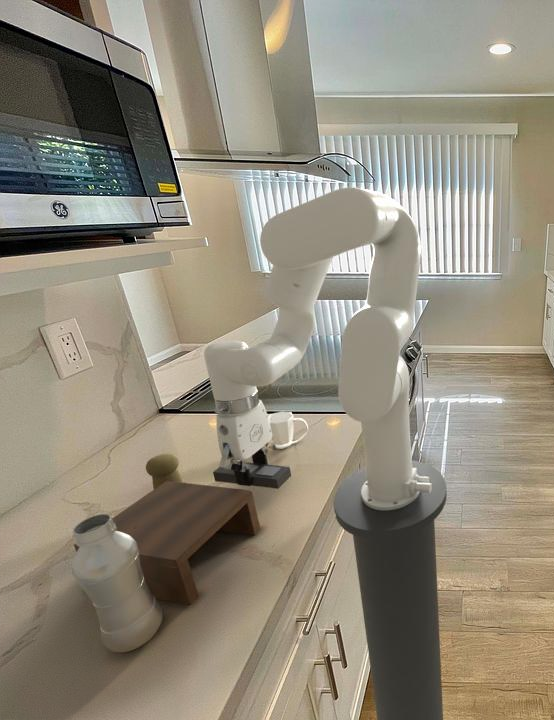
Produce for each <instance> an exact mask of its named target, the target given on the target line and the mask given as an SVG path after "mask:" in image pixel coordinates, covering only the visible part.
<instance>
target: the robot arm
mask: <svg viewBox="0 0 554 720" xmlns="http://www.w3.org/2000/svg"><path fill="white" fill-rule="evenodd" d="M259 243H260V248H261V251H262V254H263V256H264V257H265V259H266V260H267V261H268V262H269V263H270V264H271V265H272V268H271V271H270V274H269V277H268V278H267V279H268V280H267V282H266V285H265V288H264V295H265V297H266V299H267V300H268V301H269V302H270V303H271V304H272V305H275V306H276V307H277V308H278V310H279V311H278V316H277V321H276V324H275V325H274V329H273V332H272V334H271V336H270V337H269V338H267V339H265V340H263V341H261V342H260V343H258V344H255V345H253V346H248V345H247V343H245V342H243V341H241V340H224V341H217V342H215V343H211V344H209V345H208V346H207V347H206V348H205V349H204V352H203V356H204V361H205V365H206V369H207V374H208V378H209V382H210V386H211V387H210V388H211V391H212V396H213V399H214V403H215V408H214V409H213V410H214V413H215V414H216V415H215V417H216V420H215V422H216V435H217V442H218V447H219V451H220V454H221V457H220V462H219V465H218V468H220V469H228V470H231V471H234V473H235V477H236V482H237V484H236V485H238V486H243V487H251V485H252V480H251V474H250V470H249V469H247V462H248V461H247V460H248V459H249V458H251V459H252V463H259V464H268V465H269V463H268V458H267V454H268V451H269V449H268V446H269V442H271V440H272V430H271V426H270V422H269V418H268V416H269V414H268V412H267V409H266V407H265V404H264V403H263V401H262V400H261V399H260V397H259V393H258V388H262V387H263V388H264V387H266V386H269V385H271V384H273V383H274V382H275V381H278V379H280V378H281V377H283V376H284V375H285V374H286V373H288V372H289V371H291V370H292V369H294V368H295V367H296V366H298V364H299V363H300V362H301V361H302V359H303V357H304V355H305V353H306V350H307V348H308V346H309V343H310V341H311V339H312V336H313V332H314V328H315V305H316V302H317V299H318V297H319V294H320V292H321V289H322V287H323V284H324V281H325V279H326V277H327V274H328V273H329V272H328V271H329V269H330V266H331V264H332V261H333V259H334V257H337V256H339V255H342V254H344V253H347V252H350V251H352V250H355V249H358V248H362V247H365V246H370V245H371V246H372V248H373V256H372V261H371V264H370V268H369V273H368V285H367V286H368V287H367V294H366V298H365V299H366V300H365V303H364V306H363V307H362V308H360V309H359V310H357V311H356V312H354V313H353V314H352V316H351V317H350V318H349V320H348V321H347V323H346V325H345V328H344V331H343V334H342V339H341V348H340V349H341V350H340V361H339V371H338V382H337V383H338V384H337V391H338V392H337V394H338V400H339V401H338V402H339V404H340V406H341V408H342V410H343V411H344V413H345V414H346V415H347V416H348V417H349V418H351V419H352V420H354V421H357V422H359V423H360V425H361V426H360V427H361V436H362V445H363V446H362V447H363V455H364V456H363V457H364V464H365V467H366V474H367V481H366V482H365V483H364V485H363V486H362V489H361V497H362V500H363V502H364V503H365V504H366V505H367V506H368V507H370V508H373V509H376V510H384V511H387V510H395V509H399V508H402V507H404V506H406V505H408V504H410V503H411V502H413V501H414V500H415V499H416V498H417V496H418V495H419V493H420V492H425V493H431V490H432V484H431V483H429V477H420V476H419V475H417V468H412V460H413V459H412V458H413V457H412V456H413V455H412V443H411V427H410V426H411V424H410V423H411V421H410V371H409V368H408V365H407V363H406V361H405V359H404V358H403V357H402V356H401V351H402V349H403V347H404V346H405V345H406V344H407V342H408V340H410V337H411V335H412V333H413V326H414V315H415V307H416V302H417V301H416V300H417V293H418V282H419V275H420V269H421V268H420V267H421V258H422V257H421V256H422V247H421V238H420V234H419V231H418V228H417V226H416V224H415V221H414V219H413V218H412V217H411V215H410V213H409V212H407V210H406V209H405V208H404V207H403V205H401V204H400V203H398V202H397V201H396V200H394V199H393V198H391V197H390V196H388V195H386V194H384V193H382V192H378V191H374V190H370V189H364V188H360V187H353V186H352V187H342V188H338V189H335V190H332V191H329V192H328V193H324V194H322V195H320V196H317V197H314V198H313V199H311V200H309V201H305V202H303V203H301V204H299V205H296V206H294V207H292V208H291V207H290V208H289V209H287V210H284V211H281V212H280V213H277V214H276V215H273V216H272V217H271V218H270V219H267V221H266V223H265V224H264V225H263V227H262V229H261V233H260V236H259ZM237 461H240V465H239V464H237Z"/></svg>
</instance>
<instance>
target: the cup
mask: <svg viewBox="0 0 554 720" xmlns="http://www.w3.org/2000/svg"><path fill="white" fill-rule="evenodd" d="M268 418H269V422H270V426H271V430H272V438H271V440H272V442H273V443H274V447H275V449H280V450H283V449H286V448H289V447H291V446H292V445H295V444H298V443H299V442H300V441H302V440H303V439H304V438H305V437H306V436H307V434H308V433H309V425H308V423H307V421H306V420H304V419H303V418H301V417H294V414H293V413H292V411H283V410H281V411H278V412H274V413H270V414H268ZM298 421H300V422H302V423H303V424H304V426H305V428H306V432H304V434H303V435H302V436H301V437H300V438H298V439H296V440H294V441H293V439H294V423H295V422H298Z"/></svg>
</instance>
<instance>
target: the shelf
mask: <svg viewBox="0 0 554 720" xmlns="http://www.w3.org/2000/svg"><path fill="white" fill-rule="evenodd" d="M257 512H258V511H257V507H256V504H255V499H254V494H253V491H252V490H251V489H242V488H241V489H240V488H234V487H224V486H218V485H217V486H216V485H207V484H200V483H199V484H198V483H190V482H185V483H182V482H173V481H166V482H164V483H163V484H161V485H160V486H158V487H157V488H156V489H154V488H153V490H151V491H150V492H148V493H147V494H145V495H144V496H142V497H141V498H139V499H138V500H137V501H135V502H134V503H133V504H131V505H128V507H127V508H124V510H122V511H120V512H119V513H118V514H116V515H115V516H113V517H112V520H113V522H114V523H115V524H116V531H119V532H122V533H125V534H127V535H129V536H131V537H132V538H133V539H134V540H135V541H136V542H137V546H138V552H139V559H140V566H141V569H142V573H143V576H144V580H145V582H146V584H147V586H148V588H149V590H150V591H151V593H152V595H153V596H154V597H155V598H156V599H157V600H159V601H166V602H171V603H177V604H178V603H179V604H183V605H190V606H191V605H192V604H193V603H194V602H195V601H196V600H197V599H198V598H199V597H200V594H199V591H198V588H197V585H196V581H195V578H194V575H193V573H192V572H193V571H192V569H191V566H190V563H189V560H188V559H189V558H190V557H191V556H193V555H194V554H195V552H197V551H198V550H199V549H200V548H201V547H202V546H203V545H204V544H205V543H206V542H207V541H209V540H210V539H211V537H213V536H214V535H215V534H216V533H217V532H219V531H220V532H228V533H236V534H242V535H251V536H256V535H257V534H258V533H259V532H260V531H261V525H260V521H259V516H258V513H257ZM73 547H74V550H75V551H76V552H77V551H78V549H79V546H77V545H76V543H74V544H73ZM76 552H75V553H76Z"/></svg>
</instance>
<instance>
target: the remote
mask: <svg viewBox="0 0 554 720" xmlns="http://www.w3.org/2000/svg"><path fill="white" fill-rule="evenodd" d="M237 464H239V465H240V460H237ZM247 469H249V470H250V474H251V480H252V485H251V486H252V487H258V488H259V487H261V488H268V489H274V490H275V489H276V490H279V489H280V488H281V487H282V486H283V485H284V484H285V483H286V482H287V481H288V480H289V479H290V478H291V477H292V472H291V467H290V466H285V465H277V464H269V463H268V464H259V463H253V462H250V461H247ZM212 475H213V478H214V481H215V482H217V483H225V484H226V483H227V484H233V485H234V484H235V485H238V484H237V482H236V477H235V473H234V471H231V470H228V469H220V468H219V467H218V468H216V469H215V470H214V471H212ZM251 486H250V487H251Z"/></svg>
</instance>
